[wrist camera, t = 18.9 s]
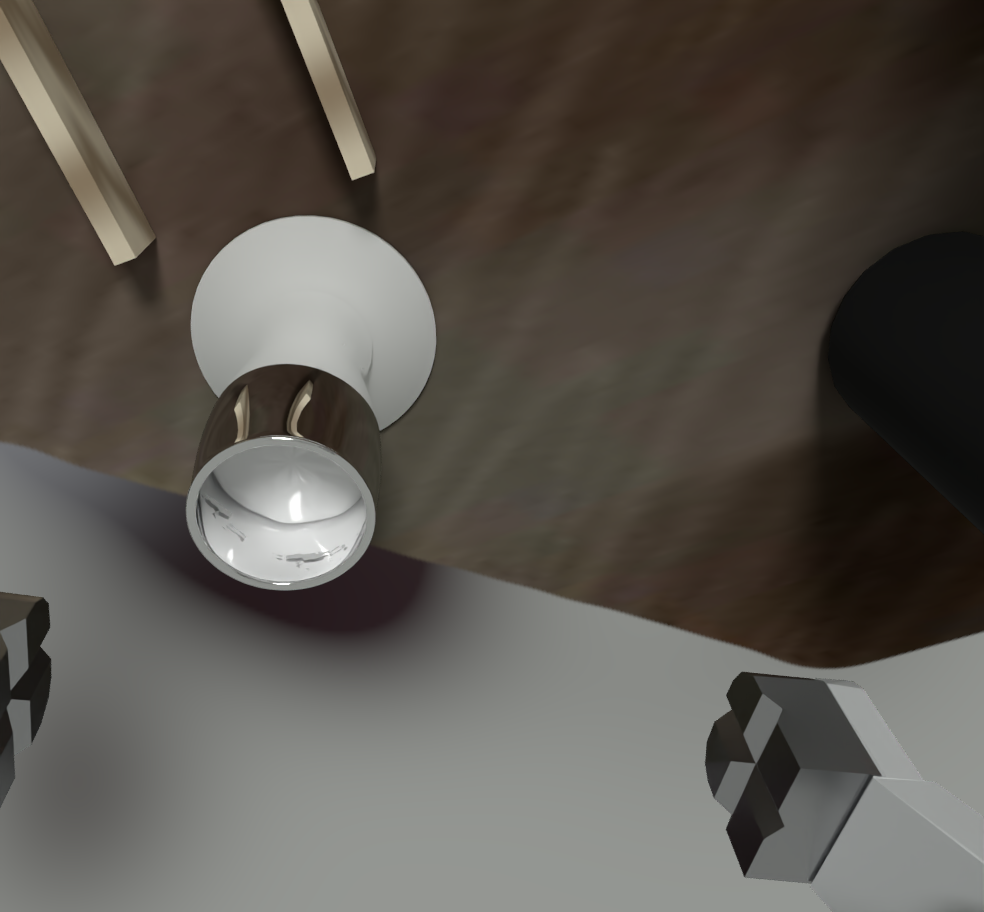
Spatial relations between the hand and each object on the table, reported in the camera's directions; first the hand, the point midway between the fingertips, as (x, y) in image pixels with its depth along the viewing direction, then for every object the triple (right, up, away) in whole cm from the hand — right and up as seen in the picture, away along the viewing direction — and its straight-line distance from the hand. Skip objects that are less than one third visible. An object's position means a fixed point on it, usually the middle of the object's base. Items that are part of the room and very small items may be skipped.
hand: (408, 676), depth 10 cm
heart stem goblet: (-8, +8, +33) cm, 35 cm away
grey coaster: (-8, +9, +33) cm, 35 cm away
